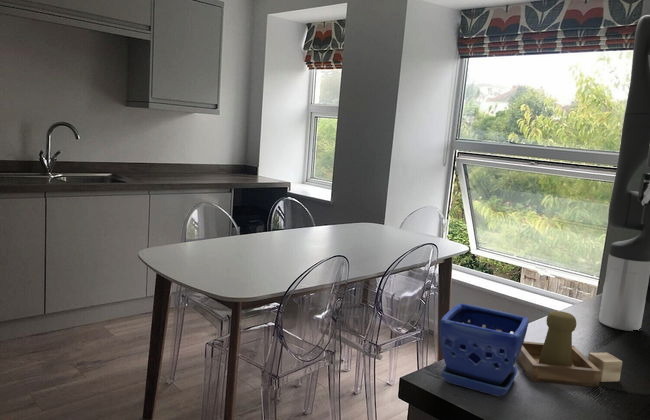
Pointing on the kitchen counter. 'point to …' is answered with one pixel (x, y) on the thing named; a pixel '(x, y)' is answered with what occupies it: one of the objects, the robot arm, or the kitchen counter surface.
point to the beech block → (606, 366)
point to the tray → (558, 367)
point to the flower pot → (481, 347)
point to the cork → (558, 339)
